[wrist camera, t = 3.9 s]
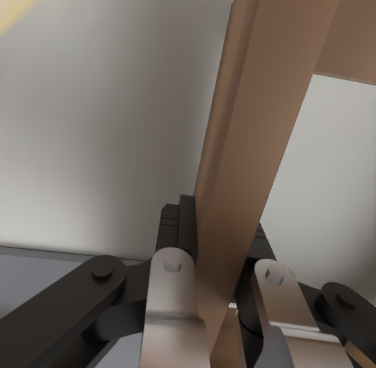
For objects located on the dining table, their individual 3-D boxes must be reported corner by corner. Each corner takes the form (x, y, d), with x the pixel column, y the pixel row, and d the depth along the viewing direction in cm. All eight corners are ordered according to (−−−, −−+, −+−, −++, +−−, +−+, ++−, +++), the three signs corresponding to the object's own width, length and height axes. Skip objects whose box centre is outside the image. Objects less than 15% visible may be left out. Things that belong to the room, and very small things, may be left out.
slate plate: (153, 262, 15) (152, 269, 15) (138, 379, 22) (137, 388, 21) (-95, 236, 14) (-106, 244, 13) (-33, 369, 20) (-39, 377, 20)
